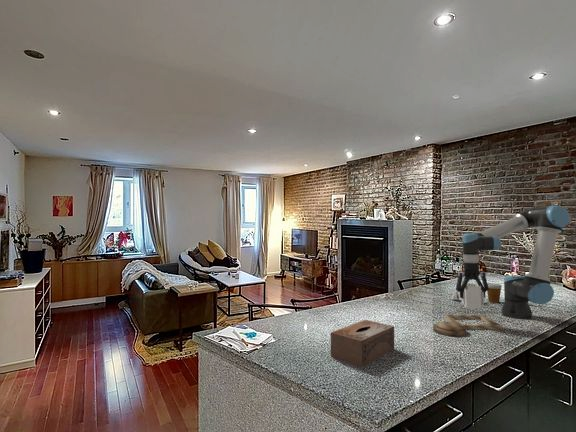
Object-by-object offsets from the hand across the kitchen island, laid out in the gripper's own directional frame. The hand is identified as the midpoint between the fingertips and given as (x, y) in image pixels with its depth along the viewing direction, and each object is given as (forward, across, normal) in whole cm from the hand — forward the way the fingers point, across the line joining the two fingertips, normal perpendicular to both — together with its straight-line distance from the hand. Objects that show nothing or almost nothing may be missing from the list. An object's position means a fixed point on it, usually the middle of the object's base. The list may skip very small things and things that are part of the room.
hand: (472, 303), depth 185 cm
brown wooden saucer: (+10, +19, +14) cm, 26 cm away
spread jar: (+12, -18, -54) cm, 58 cm away
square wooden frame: (+11, +1, 0) cm, 11 cm away
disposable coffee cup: (+12, -39, -51) cm, 65 cm away
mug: (+2, +1, 0) cm, 2 cm away
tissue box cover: (+9, +67, +43) cm, 80 cm away
